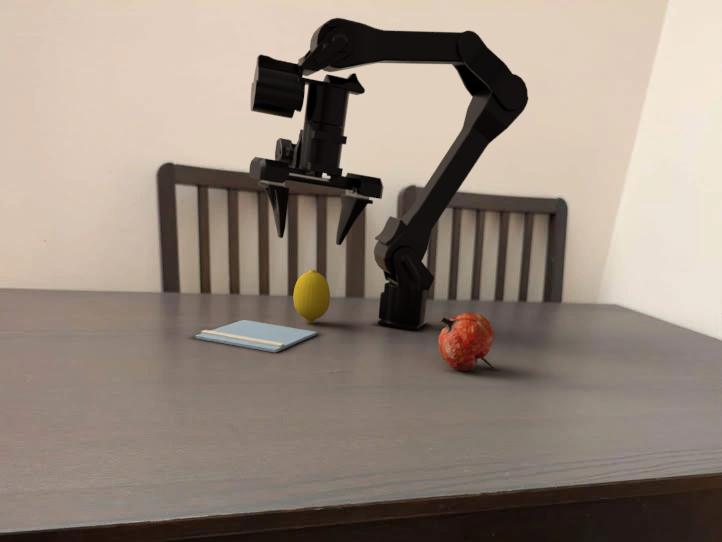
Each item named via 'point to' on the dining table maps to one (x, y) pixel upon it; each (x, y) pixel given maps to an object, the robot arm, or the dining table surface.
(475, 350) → the pomegranate
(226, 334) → the towel
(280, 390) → the dining table surface
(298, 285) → the lemon
